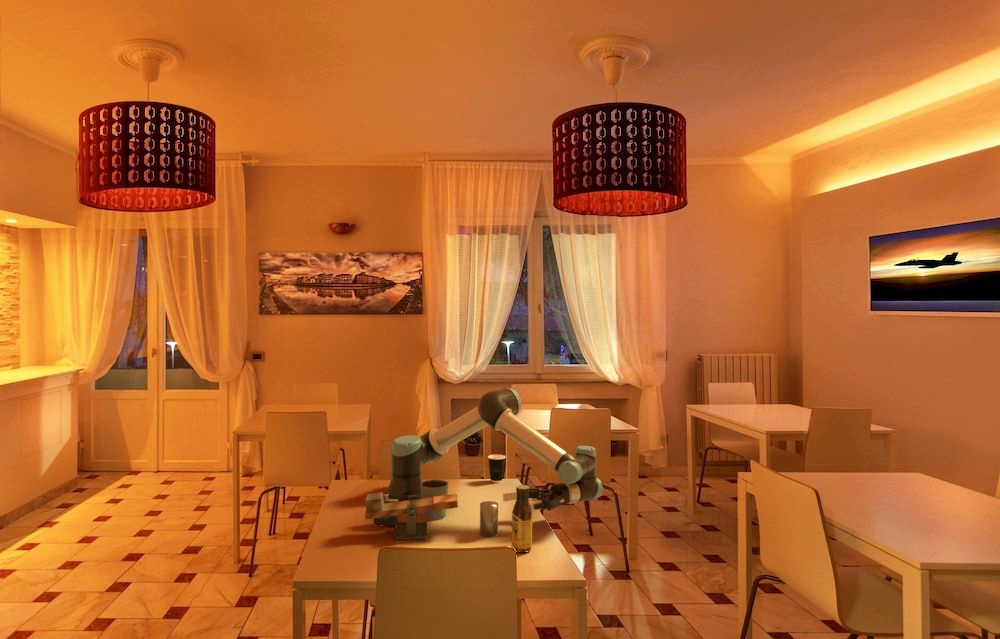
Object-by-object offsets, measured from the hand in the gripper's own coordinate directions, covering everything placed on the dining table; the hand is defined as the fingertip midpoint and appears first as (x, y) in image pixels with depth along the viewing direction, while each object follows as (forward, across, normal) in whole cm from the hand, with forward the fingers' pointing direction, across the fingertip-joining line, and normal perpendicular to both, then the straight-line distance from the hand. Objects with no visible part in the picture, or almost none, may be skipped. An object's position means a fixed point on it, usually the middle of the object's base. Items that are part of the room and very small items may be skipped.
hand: (513, 502), depth 204 cm
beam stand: (+32, +13, -9) cm, 35 cm away
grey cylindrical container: (+18, +26, -9) cm, 33 cm away
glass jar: (+9, 0, -9) cm, 13 cm away
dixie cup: (-25, +55, -9) cm, 61 cm away
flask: (+36, +25, -9) cm, 45 cm away
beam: (+32, +13, -1) cm, 34 cm away
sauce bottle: (+8, -17, -10) cm, 21 cm away
